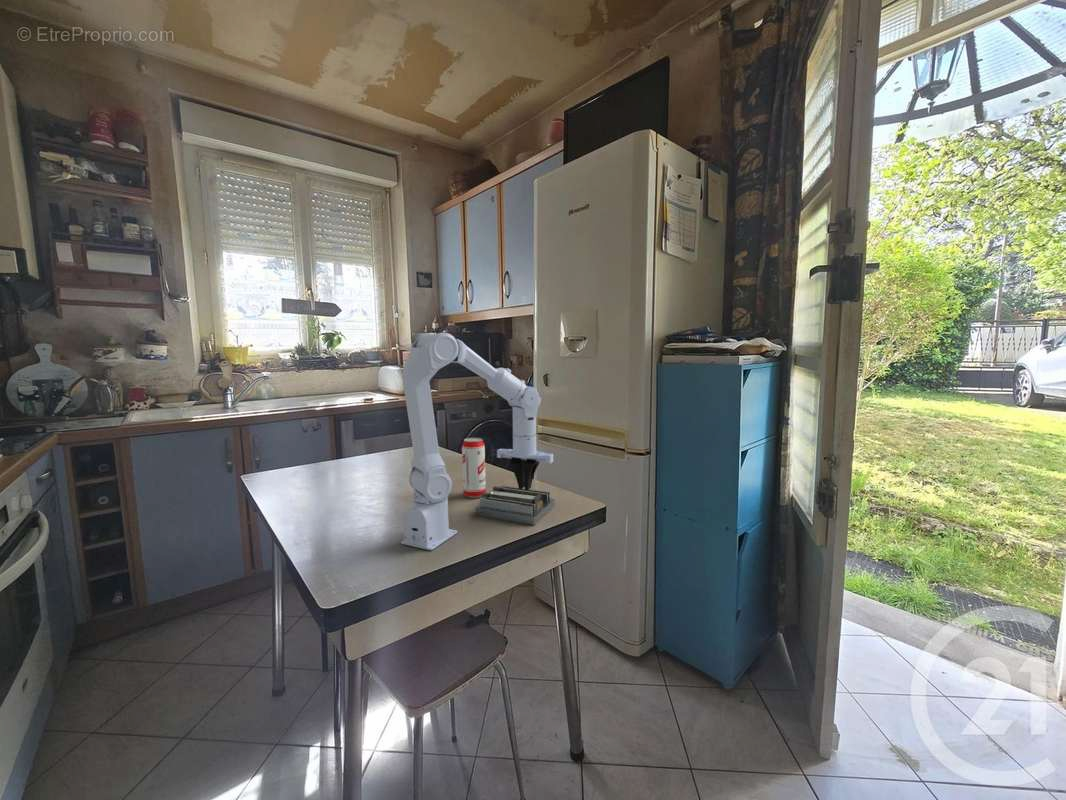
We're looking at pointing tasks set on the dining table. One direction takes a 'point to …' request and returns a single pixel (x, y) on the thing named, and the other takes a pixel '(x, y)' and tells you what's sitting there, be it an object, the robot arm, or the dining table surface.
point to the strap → (511, 496)
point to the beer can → (473, 467)
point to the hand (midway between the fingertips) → (524, 488)
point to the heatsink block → (516, 506)
